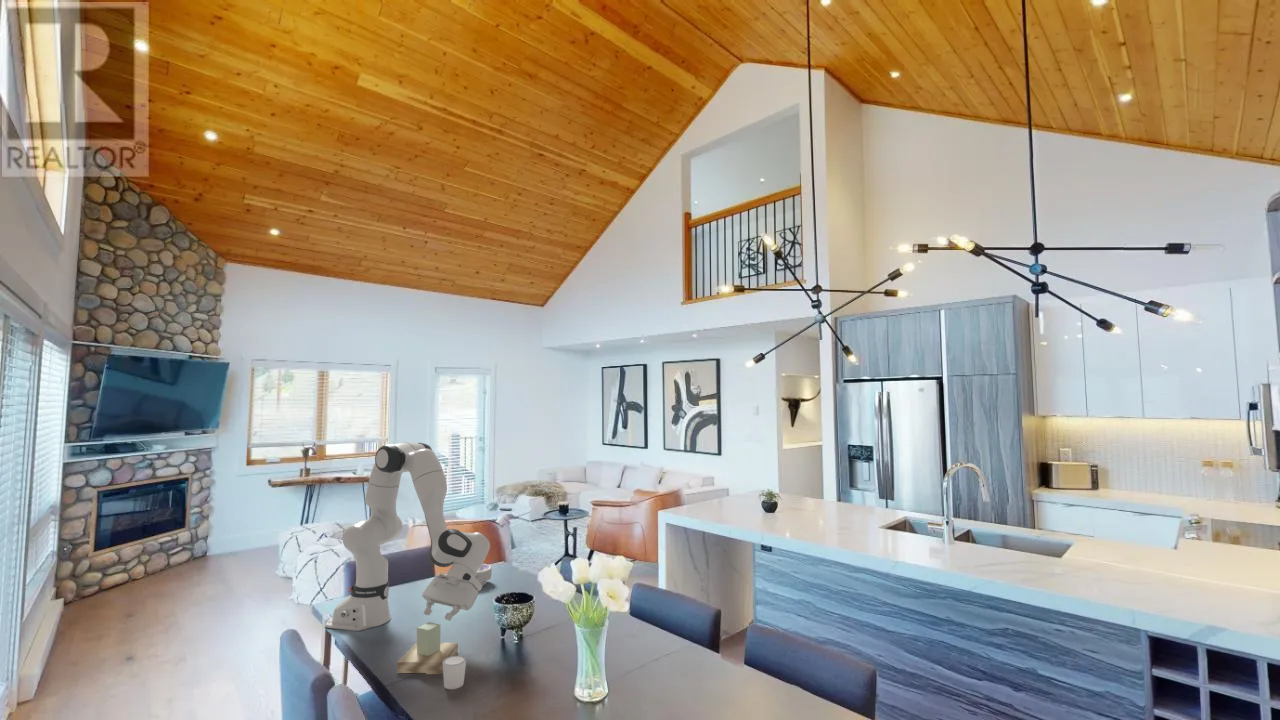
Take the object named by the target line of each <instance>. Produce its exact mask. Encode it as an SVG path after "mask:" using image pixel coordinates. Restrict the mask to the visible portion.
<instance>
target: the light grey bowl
mask: <svg viewBox="0 0 1280 720" xmlns="http://www.w3.org/2000/svg"><path fill="white" fill-rule="evenodd" d="M475 578H476V579H477V580H478V581H479V583H480V584H481V585H482V587H483V586H484V585H486V584H487V582H488V581H490V580H491V579H492V566H491V565H490V564H487V563H482V565H481V566H480V567H479V568H478V570H477V572H476V576H475Z"/></svg>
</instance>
